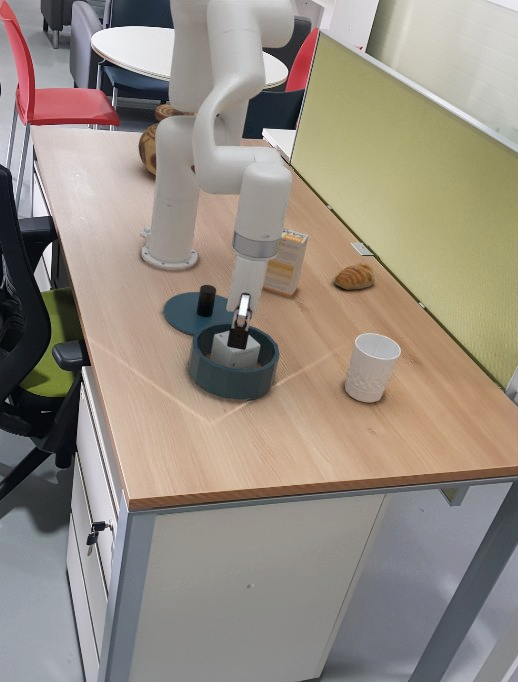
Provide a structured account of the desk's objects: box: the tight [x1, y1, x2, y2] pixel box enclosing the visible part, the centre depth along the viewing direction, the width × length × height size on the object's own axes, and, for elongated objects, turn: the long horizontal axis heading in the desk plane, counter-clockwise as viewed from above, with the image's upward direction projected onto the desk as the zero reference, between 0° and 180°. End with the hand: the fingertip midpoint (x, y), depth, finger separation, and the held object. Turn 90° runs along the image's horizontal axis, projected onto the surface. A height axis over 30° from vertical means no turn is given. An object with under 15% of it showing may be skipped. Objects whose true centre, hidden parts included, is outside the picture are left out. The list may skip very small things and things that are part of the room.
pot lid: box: [163, 284, 238, 337], centre depth 146 cm, size 16×16×7 cm
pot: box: [188, 322, 281, 402], centre depth 132 cm, size 15×15×6 cm
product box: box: [209, 331, 260, 370], centre depth 131 cm, size 6×6×7 cm
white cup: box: [344, 332, 402, 404], centre depth 131 cm, size 8×8×10 cm
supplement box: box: [263, 227, 309, 297], centre depth 158 cm, size 8×5×13 cm, turn 65°
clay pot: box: [138, 103, 197, 176], centre depth 203 cm, size 19×19×20 cm
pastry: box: [334, 262, 376, 291], centre depth 166 cm, size 9×7×4 cm
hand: (239, 332), depth 128 cm, fingers open, 9 cm apart
